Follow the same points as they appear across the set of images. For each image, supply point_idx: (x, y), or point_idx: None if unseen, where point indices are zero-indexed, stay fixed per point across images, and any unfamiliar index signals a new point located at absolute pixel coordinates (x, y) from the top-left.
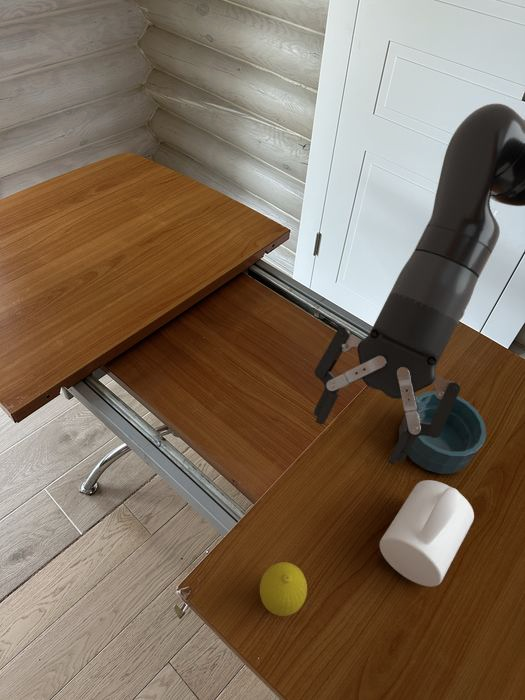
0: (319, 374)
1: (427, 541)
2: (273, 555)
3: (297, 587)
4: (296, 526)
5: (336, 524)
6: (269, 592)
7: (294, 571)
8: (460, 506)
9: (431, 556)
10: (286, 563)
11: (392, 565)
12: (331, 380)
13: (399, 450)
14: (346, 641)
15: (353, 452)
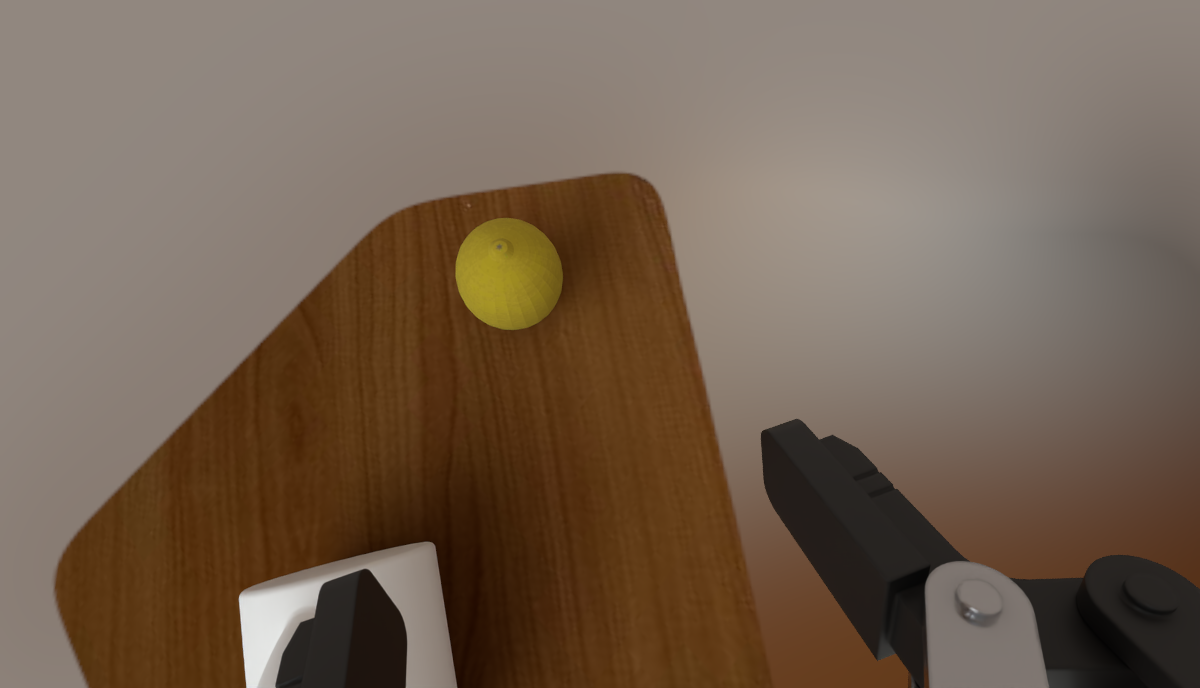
0: (1127, 579)
1: (291, 622)
2: (595, 345)
3: (472, 263)
4: (614, 431)
5: (557, 514)
6: (511, 218)
7: (503, 279)
8: None
9: (265, 600)
10: (533, 286)
11: (394, 547)
12: (1026, 626)
13: (316, 657)
14: (371, 350)
15: None
